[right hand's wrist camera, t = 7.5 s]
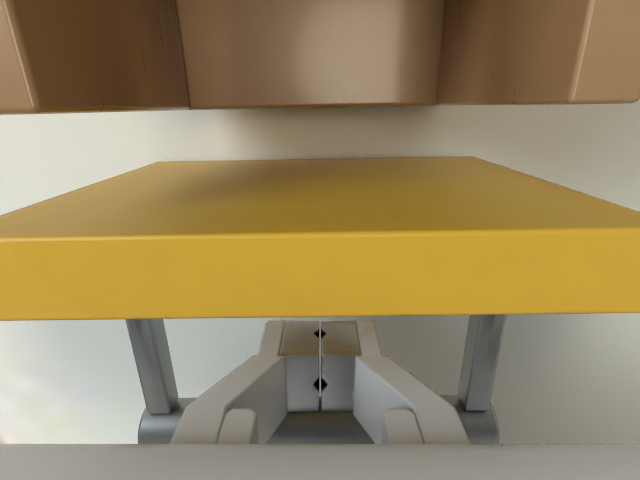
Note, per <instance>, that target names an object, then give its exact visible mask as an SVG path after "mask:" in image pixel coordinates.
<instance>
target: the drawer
mask: <svg viewBox="0 0 640 480" xmlns="http://www.w3.org/2000/svg"><path fill="white" fill-rule="evenodd" d="M639 97H640V0H0V115H8V114H54V113H91V112H128V111H165V110H208V109H262V108H316V107H371V106H425V105H534V104H609V103H633V102H636V101H638V99H639ZM572 313H640V212H638V211H635V210H632V209H629V208H626V207H623V206H620V205H617V204H614V203H611V202H608V201H605V200H602V199H599V198H596V197H593V196H590V195H587V194H584V193H581V192H578V191H575V190H572V189H569V188H566V187H563V186H560V185H557V184H554V183H551V182H548V181H545V180H542V179H539V178H536V177H533V176H530V175H527V174H524V173H521V172H518V171H515V170H512V169H509V168H506V167H503V166H500V165H497V164H494V163H491V162H488V161H485V160H482V159H479V158H476V157H418V158H359V159H300V160H241V161H182V162H156V163H153V164H150V165H148V166H145V167H142V168H139V169H136V170H133V171H130V172H127V173H124V174H121V175H118V176H115V177H112V178H109V179H106V180H103V181H101V182H98V183H95V184H92V185H89V186H86V187H83V188H80V189H77V190H74V191H71V192H68V193H65V194H62V195H59V196H56V197H54V198H51V199H48V200H45V201H42V202H39V203H36V204H33V205H30V206H27V207H24V208H21V209H18V210H15V211H12V212H9V213H6V214H4V215H1V216H0V321H12V320H92V319H126V323H127V327H128V331H129V336H130V340H131V344H132V348H133V352H134V356H135V361H136V365H137V369H138V373H139V377H140V382H141V386H142V390H143V394H144V398H145V403H146V408H145V410H144V412H143V415H142V418H141V421H140V425H139V431H138V444H169V443H170V441H171V439H172V437H173V435H174V432H175V430H176V428H177V426H178V423H179V421H180V419H181V417H182V415H183V412H184V410H185V408H186V406H188V405H189V404H190V403H192V402H193V401H194V400H196V399H197V398H178V393H177V388H176V383H175V378H174V372H173V367H172V362H171V357H170V352H169V347H168V342H167V337H166V332H165V327H164V322H163V319H172V318H252V317H332V316H412V315H470V316H469V323H468V330H467V336H466V343H465V350H464V357H463V363H462V370H461V377H460V384H459V390H458V395H439V396H441V397H442V398H443V399H445V400H446V401H447V402H449V403H450V404H451V405H452V406H454V407H455V409H456V411H457V413H458V416H459V418H460V420H461V422H462V425H463V427H464V429H465V431H466V434H467V436H468V438H469V440H470V443H471V444H499V429H498V423H497V419H496V415H495V412H494V410H493V407H492V405H491V403H490V398H491V393H492V387H493V382H494V377H495V371H496V366H497V361H498V356H499V350H500V345H501V340H502V334H503V329H504V324H505V318H506V314H572ZM265 444H375V443H374V441H373V440H372V439H371V437H370V436H369V435H368V433H367V432H366V431H365V429H364V428H363V427H362V426H361V424H360V423H359V422H358V420H357V419H356V418H355V416H354V415H353V413H332V412H321V397H319V412H307V413H287V416H286V417H285V418H284V420H283V421H282V422H281V424H280V425H279V426H278V428H277V429H276V430H275V431H274V433H273V434H272V435H271V437H270V438H269V439H268V441H267V442H266V443H265Z"/></svg>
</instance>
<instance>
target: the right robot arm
mask: <svg viewBox="0 0 640 480" xmlns="http://www.w3.org/2000/svg"><path fill="white" fill-rule="evenodd" d="M307 412H319V321H284V320H283V321H267V322H266V325H265V329H264V333H263V337H262V341H261V345H260V349H259V353H258V356H252V357H250V358H249V359H248V360H247V361H245V362H244V363H243V364H241V365H240V366H239V367H237V368H236V369H235V370H233V371H232V372H231V373H230V374H228V375H227V376H226V377H224V378H223V379H222V380H220V381H219V382H218V383H216V384H215V385H214V386H213V387H211V388H210V389H209V390H207V391H206V392H205V393H203V394H202V395H201V396H199V397H198V398H197V399H196V400H194V401H193V402H192V403H190V404H189V405H188V406H186V408H185V410H184V412H183V415H182V417H181V419H180V421H179V423H178V426H177V428H176V430H175V432H174V435H173V437H172V439H171V441H170V443H169V444H0V480H640V444H471V443H470V440H469V438H468V436H467V434H466V431H465V429H464V427H463V425H462V422H461V420H460V418H459V416H458V413H457V411H456V409H455V407H454V406H452V405H451V404H450V403H449V402H447V401H446V400H445V399H443V398H442V397H441V396H439V395H438V394H437V393H435V392H434V391H433V390H432V389H430V388H429V387H428V386H426V385H425V384H424V383H422V382H421V381H420V380H419V379H417V378H416V377H415V376H413V375H412V374H411V373H409V372H408V371H407V370H405V369H404V368H403V367H402V366H400V365H399V364H398V363H396V362H395V361H394V360H392V359H391V358H390V357H389V356H382V352H381V348H380V344H379V340H378V336H377V332H376V328H375V324H374V322H373V321H372V320H367V321H338V322H321V412H332V413H353V415H354V416H355V418H356V419H357V420H358V422H359V423H360V424H361V426H362V427H363V428H364V429H365V431H366V432H367V433H368V435H369V436H370V437H371V439H372V440H373V441H374V443H375V444H265V443H266V442H267V441H268V439H269V438H270V437H271V435H272V434H273V433H274V431H275V430H276V429H277V428H278V426H279V425H280V424H281V422H282V421H283V420H284V418H285V417H286V416H287V413H307Z"/></svg>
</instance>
